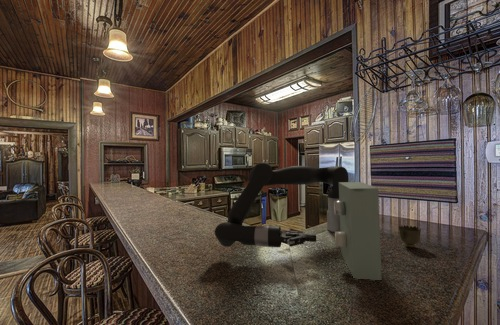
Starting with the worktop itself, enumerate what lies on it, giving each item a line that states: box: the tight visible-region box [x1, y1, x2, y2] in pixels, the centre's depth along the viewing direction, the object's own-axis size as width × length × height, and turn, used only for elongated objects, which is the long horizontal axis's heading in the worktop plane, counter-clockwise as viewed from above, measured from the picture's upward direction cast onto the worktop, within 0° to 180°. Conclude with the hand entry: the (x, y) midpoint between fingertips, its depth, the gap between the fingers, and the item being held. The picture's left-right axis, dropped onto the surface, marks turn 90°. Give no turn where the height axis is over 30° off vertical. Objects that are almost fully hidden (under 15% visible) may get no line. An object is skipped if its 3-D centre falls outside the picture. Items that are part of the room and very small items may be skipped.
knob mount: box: [339, 181, 382, 281], centre depth 80 cm, size 8×20×28 cm, turn 168°
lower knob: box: [334, 232, 347, 248], centre depth 81 cm, size 7×5×5 cm
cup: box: [398, 225, 422, 249], centre depth 95 cm, size 8×7×8 cm
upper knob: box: [334, 201, 345, 215], centre depth 81 cm, size 7×5×5 cm
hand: (316, 237), depth 83 cm, fingers closed
